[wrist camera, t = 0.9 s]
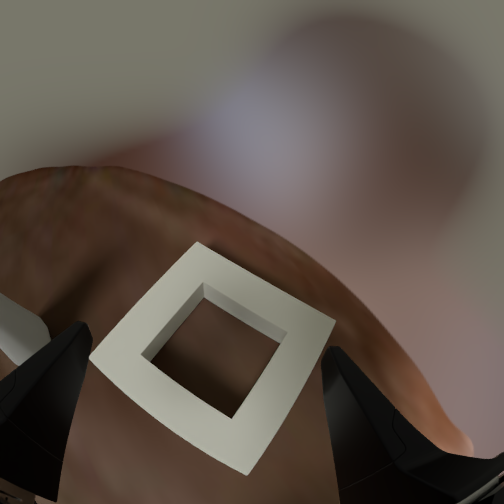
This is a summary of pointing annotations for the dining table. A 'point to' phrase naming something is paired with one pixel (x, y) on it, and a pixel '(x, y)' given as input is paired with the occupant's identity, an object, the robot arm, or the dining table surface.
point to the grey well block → (245, 309)
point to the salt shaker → (20, 331)
